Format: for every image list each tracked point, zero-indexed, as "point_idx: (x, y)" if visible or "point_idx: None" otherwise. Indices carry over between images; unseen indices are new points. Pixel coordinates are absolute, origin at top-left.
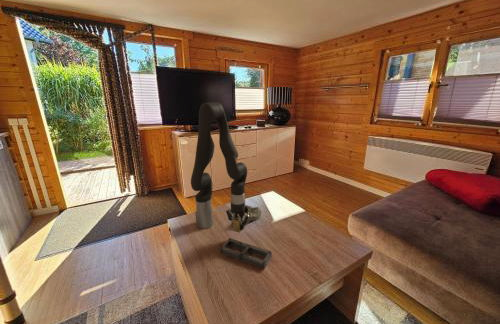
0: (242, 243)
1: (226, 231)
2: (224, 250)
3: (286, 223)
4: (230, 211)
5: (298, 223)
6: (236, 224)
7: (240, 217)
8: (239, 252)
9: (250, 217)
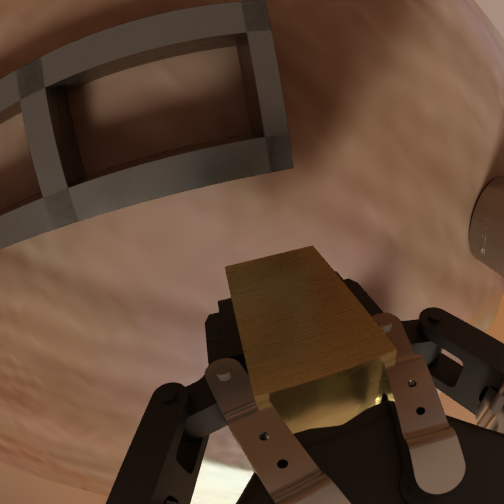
0: (123, 189)
1: (379, 250)
2: (210, 6)
3: None
4: (499, 426)
5: (105, 475)
6: (295, 322)
7: (260, 482)
8: (60, 76)
9: None
